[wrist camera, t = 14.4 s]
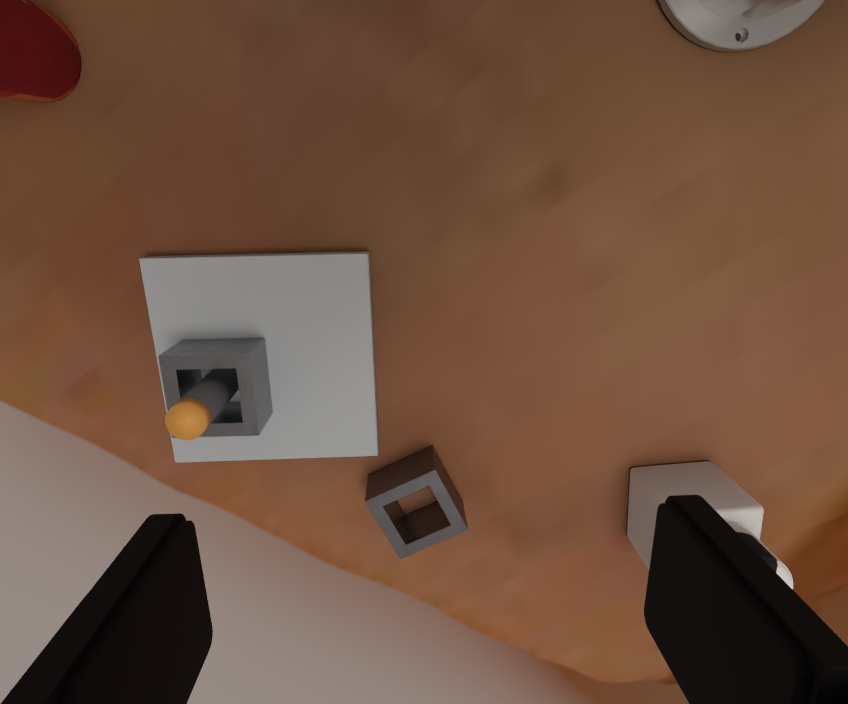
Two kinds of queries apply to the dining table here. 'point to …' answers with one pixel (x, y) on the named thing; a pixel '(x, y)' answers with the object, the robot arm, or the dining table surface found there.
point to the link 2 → (423, 523)
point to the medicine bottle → (694, 479)
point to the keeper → (273, 349)
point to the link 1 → (239, 353)
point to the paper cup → (35, 54)
